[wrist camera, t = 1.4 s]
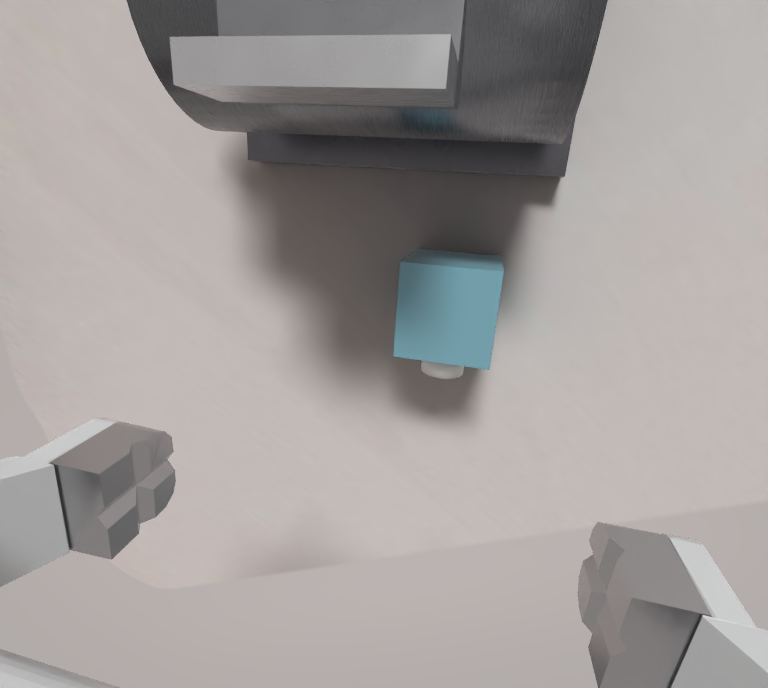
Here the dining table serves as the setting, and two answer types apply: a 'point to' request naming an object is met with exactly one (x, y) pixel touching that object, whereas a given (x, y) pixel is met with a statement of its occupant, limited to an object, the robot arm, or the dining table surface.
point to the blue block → (447, 310)
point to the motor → (381, 78)
